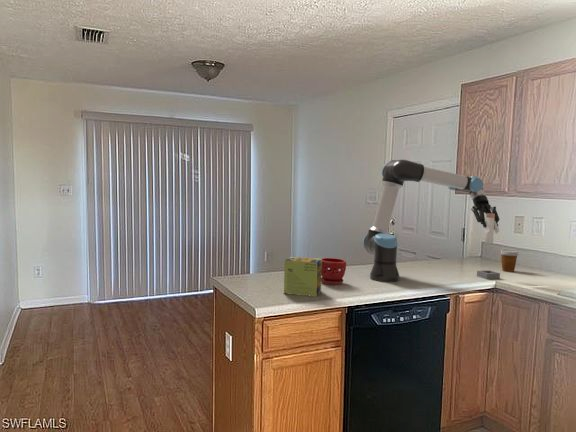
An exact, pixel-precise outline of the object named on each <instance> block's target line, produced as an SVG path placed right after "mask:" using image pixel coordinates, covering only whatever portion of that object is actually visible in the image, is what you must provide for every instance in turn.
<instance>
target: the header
mask: <svg viewBox="0 0 576 432" xmlns="http://www.w3.org/2000/svg"><path fill="white" fill-rule="evenodd" d="M476 277H479V278H481V279H483V280H500V277H501V273H500V272H497V271H493V270H491V269H490V270H489V269H488V270H487V269H484V270H477V271H476Z"/></svg>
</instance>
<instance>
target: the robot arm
mask: <svg viewBox="0 0 576 432" xmlns="http://www.w3.org/2000/svg"><path fill="white" fill-rule="evenodd" d="M381 175H382V180H381V182H382V184H383V187H382V191H381V194H380V198H379V202H378V205H377V209H376V214H375V216H374V221H373V224H372V226H371V227H369V228H368V232H367V234H365V236H364V237H363V239H362V246H363V248H364V250H365V251H366V252H367V253H368V254H369V255H373V265H372V267H371V271H370V274H369V279H371V280H373V281H378V282H397V281H399V280H400V274H399V270H398V267H397V259H398V258H397V255H398V239H397V236H396V235H394V234H390V232H389V227H390V223H391V219H392V216H393V212H394V208H395V205H396V201H397V199H398V198H397V197H398V193H399V190H400V189H401V188H403V187H404V186H403V185H404V183H405V182H416V183H420V182H425V183H430V184H434V185H438V186H440V185H441V186H444V187H447V188H448V189H449V190H452V191H457V192H464V193H469V195H470V198H471V201H472V204H473V205H472V206H471V208H470V210H471V211H472V212H473V214H474V217H475V219H476V222H477V223H480V224H481V225H482V227H483V228H485V231H487V233H489V232H490V227H489V225H488V222H487V221H486V217H485V215H486V214H487V213H492V214H495V218H494V232H495V233H494V234H498V233H499V232H500V229H499V224H498V222H499V221H500V217H499V214H498V212H497V206H496V205H495V206H491V204H490V201H489V199H488V197H487V194H486V192H485V190H484V187H483V186H484V182H483V179H481V178H479V177H478V176H475V175H472V176H468V175H467V176H466V175H463V174H458V173H454V172H453V173H452V172H449V171H445V170H440V169H435V168H431V167H426V166H425V165H424V164H422V163H418V162H414V161H411V160H407V159H393V160H390V161H388V162H386V163H385V164H384V165H383V166H382V168H381Z"/></svg>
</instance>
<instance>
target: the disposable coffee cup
mask: <svg viewBox="0 0 576 432" xmlns="http://www.w3.org/2000/svg"><path fill="white" fill-rule="evenodd" d="M518 255H519V252H518V251H517V250H513V249H501V250H500V256H501V259H500V260H501V270H502V271H503V272H506V273H507V272H508V273H514V272H515V269H516V263H517V258H518Z"/></svg>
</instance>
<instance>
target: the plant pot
mask: <svg viewBox="0 0 576 432" xmlns="http://www.w3.org/2000/svg"><path fill="white" fill-rule="evenodd" d="M321 259H322V270H321V284H324V285H330V286H338V285H341V284H342V283H343V282H344V279H343V278H344V277H345V274H346V269H347V260H345V259H343V258H335V257H324V258H323V257H322V258H321Z"/></svg>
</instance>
